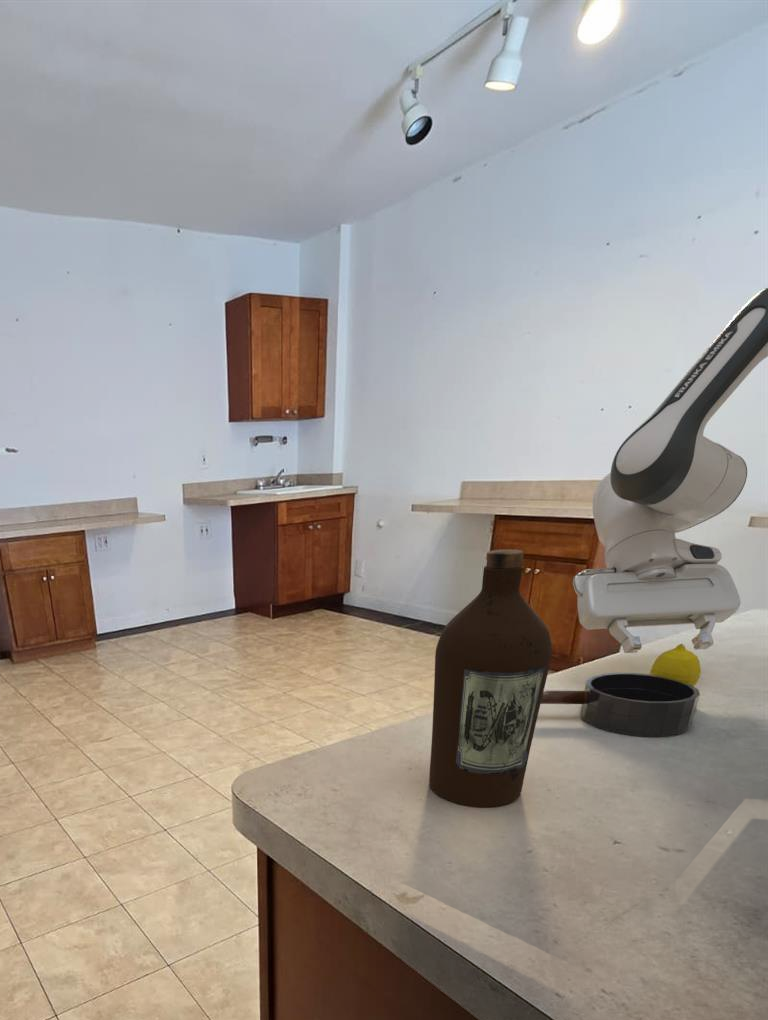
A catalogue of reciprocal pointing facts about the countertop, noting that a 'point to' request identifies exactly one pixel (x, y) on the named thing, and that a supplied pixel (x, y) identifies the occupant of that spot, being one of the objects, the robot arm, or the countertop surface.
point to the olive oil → (488, 690)
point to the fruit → (677, 665)
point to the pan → (639, 704)
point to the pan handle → (564, 697)
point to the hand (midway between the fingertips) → (668, 649)
